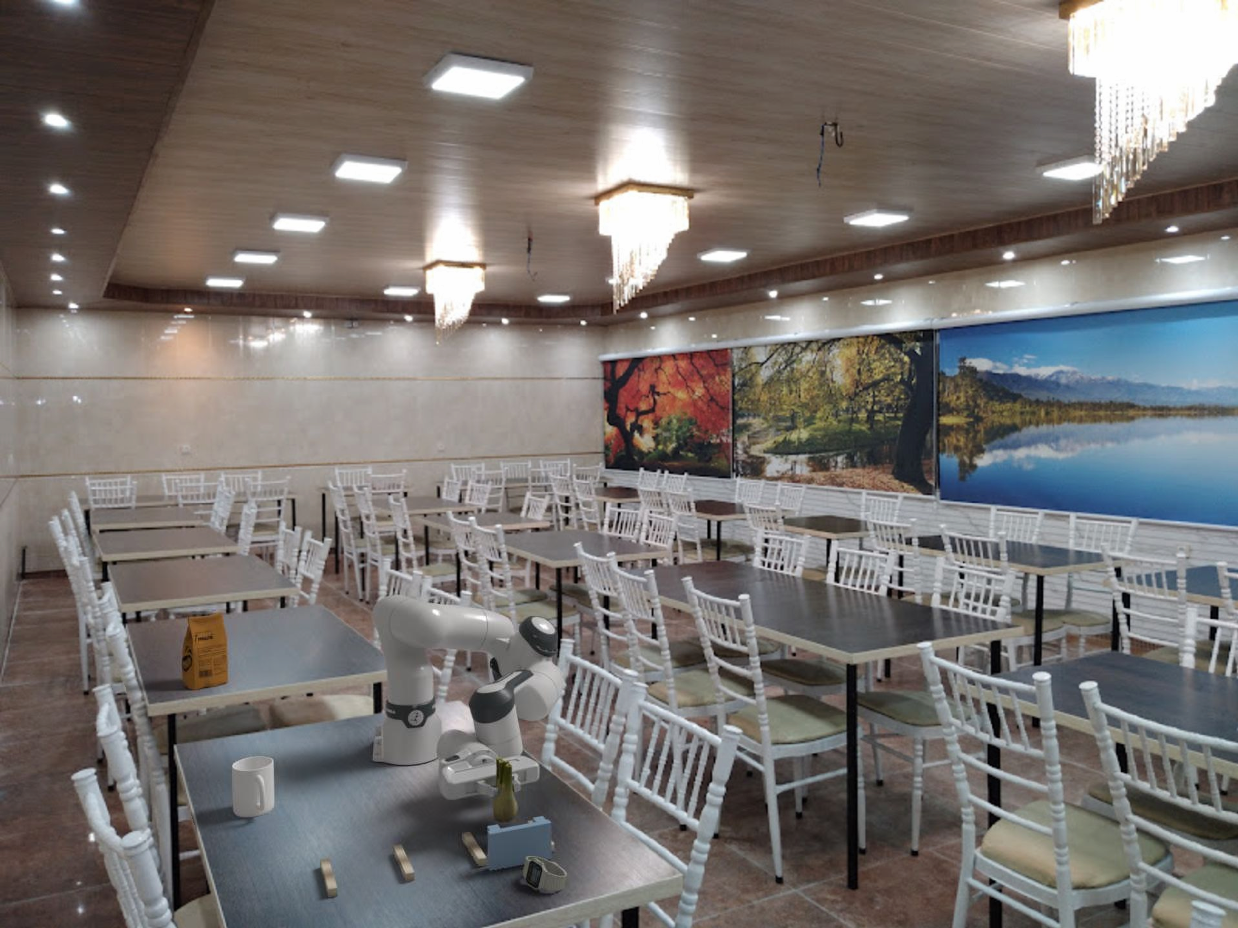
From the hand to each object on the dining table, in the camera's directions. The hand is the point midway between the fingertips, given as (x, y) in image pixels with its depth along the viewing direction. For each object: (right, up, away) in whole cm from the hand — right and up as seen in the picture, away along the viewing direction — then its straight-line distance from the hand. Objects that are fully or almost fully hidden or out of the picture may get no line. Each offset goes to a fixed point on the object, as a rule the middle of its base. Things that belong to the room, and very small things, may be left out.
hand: (506, 790), depth 187 cm
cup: (-55, -10, +15) cm, 58 cm away
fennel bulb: (0, -6, +1) cm, 6 cm away
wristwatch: (+9, -12, -15) cm, 21 cm away
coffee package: (-107, -5, +110) cm, 153 cm away
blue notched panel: (+4, -11, -8) cm, 14 cm away
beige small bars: (-12, -11, -7) cm, 17 cm away
